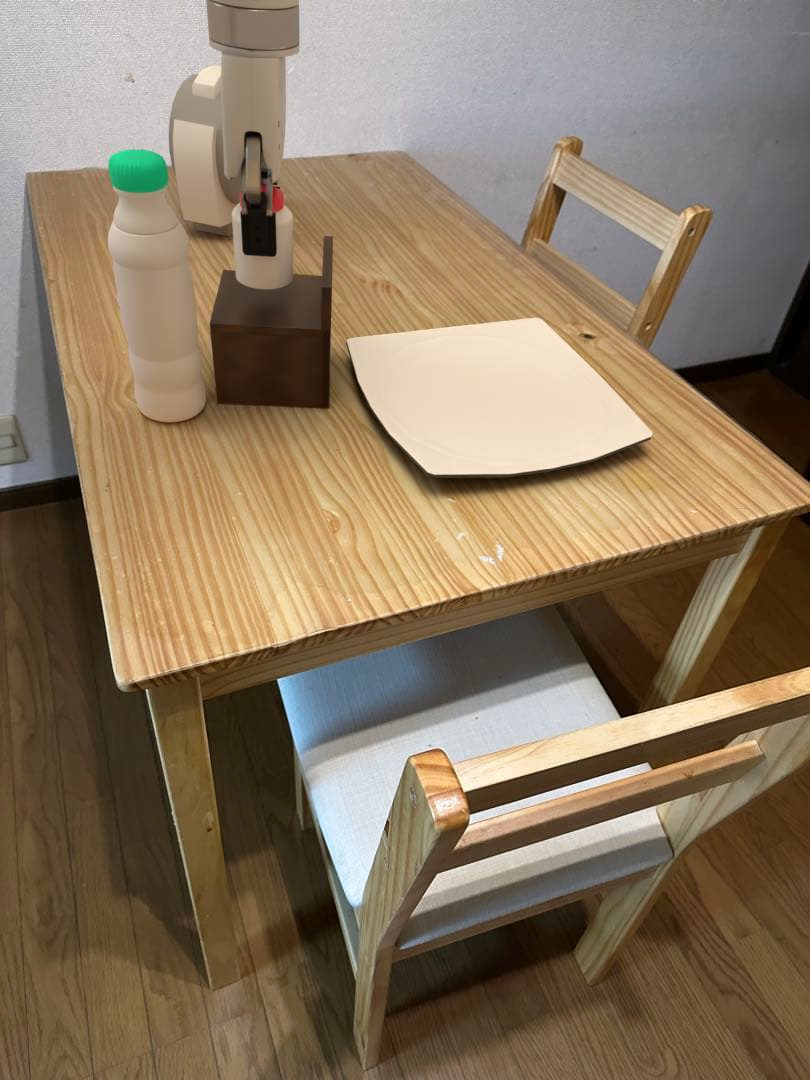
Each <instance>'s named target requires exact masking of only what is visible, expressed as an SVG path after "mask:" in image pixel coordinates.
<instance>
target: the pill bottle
mask: <svg viewBox="0 0 810 1080" xmlns="http://www.w3.org/2000/svg"><path fill="white" fill-rule="evenodd" d="M276 187H277V186H275V187H273V213H276V243H277V252H276V256H274V257H267V256H251V255H245V254H244V253H243V249H242V232H241V215H240V212H241V211H242V199H241V189H240V191H239V197H240V203H239V204H238V205H236V206H235V207H234V209H233V210H232V214H231V216H232V231H233V233H232V245H233V260H234V271H235V276H236V279H237V280H238V281H239V282H240V283H241V284H243V285H245V286H248V287H251V288H255V289H277V288H281V287H284V286H286V285H288V284H289V283H291V282H292V280H293V274H294V218H293V217H294V215H293V212H292V211H291V210H290V209H289V207H288V206H286V204H284V192H283V190H282V189H281V188H280V189H278V188H276ZM261 192H265V196H266V186H261Z"/></svg>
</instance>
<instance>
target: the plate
mask: <svg viewBox="0 0 810 1080" xmlns="http://www.w3.org/2000/svg"><path fill="white" fill-rule="evenodd" d="M345 344H346V347H347V351H348V355H349V358H350V362H351V365H352V368H353V372H354V375H355V379H356V382H357V385H358V387H359V389H360V391H361V394H362V396H363V397H364V399H365V401H366V403H367V406H368V407H369V409H370V411H371V412H372V414H373V415H374V417H375V418H376V420H377V421H378V423H379V424H380V426H381V427H382V429H383V430H384V432H385V433H386V434H387V436H388V437H389V438H390V439H391V440H392V442H394V443H395V444H396V446H397V447H398V448H400V450H401V451H402V452H403V453H404V454H405V455H406V456H407V457H408V458H409V459H410V460H411V461H412V462H413V463H414V464H415V466H417V467H418V468H419V470H421V471H422V473H424V475H425V476H428V477H430V478H434V479H460V478H461V479H462V478H466V479H467V478H468V479H469V478H470V479H472V478H477V479H478V478H481V479H482V478H512V477H519V476H520V477H521V476H527V475H533V474H540V473H541V474H543V473H548V472H553V471H557V470H563V469H566V468H567V469H568V468H571V467H576V466H580V465H585V464H589V463H593V462H596V461H598V460H601V459H604V458H605V457H608V456H611V455H613V454H616V453H620V452H622V451H625V450H628V449H630V448H632V447H635V446H637V445H641V444H642V443H645V442H648V441H650V440H651V439H652V437H653V434H654V433H653V431H652V430H651V429H650V427H648V426H647V425H646V424H645V422H644V421H643V420H642V419H641V418H640V417H639V415H638V414H637V413H636V412H634V411H633V409H632V408H631V407H630V406H629V404H627V402H626V401H624V399H623V398H622V397H621V396H620V395H619V394H618V393H617V392H616V391H615V390H614V389H613V388H612V386H610V384H609V383H608V382H607V381H606V380H605V379H604V378H603V377H602V376H601V375H600V374H599V373H598V372H597V371H596V370H595V369H594V368H593V367H592V366H591V365H590V364H589V363H588V362H587V361H586V360H585V359H584V358H583V357H582V356H580V354H579V353H578V352H577V351H576V350H575V349H573V348H572V347H571V346H570V344H568V343H567V341H566V340H564V339H563V338H562V337H561V336H560V335H559V334H558V333H557V332H556V331H555V330H553V329H552V327H551V326H549V324H548V323H546V322H545V321H544V320H543V319H542V318H539V317H528V318H519V319H511V320H503V321H502V320H501V321H493V322H492V321H491V322H483V323H475V324H465V325H455V326H446V327H445V326H444V327H437V328H429V329H420V330H419V329H418V330H411V331H402V332H401V331H400V332H392V333H383V334H374V335H365V336H356V337H355V336H354V337H349V338H348V339H347V340H346V342H345Z"/></svg>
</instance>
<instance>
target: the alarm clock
mask: <svg viewBox="0 0 810 1080" xmlns="http://www.w3.org/2000/svg"><path fill="white" fill-rule="evenodd" d="M168 148H169V149H168V150H169V155H170V162H171V163H170V164H171V167H172V170H173V173H174V176H175V180H176V185H177V191H178V198H179V203H180V207H181V212H182V213H181V214H182V217H183V220H184V221H189V222H193V223H194V222H195V223H194V224H195V225H194V226H195V230H197V231H201V232H204V233H205V232H206V233H210V234H215V235H220V236H225V237H230V236H231V235H233V231H232V216H231V214H232V210H233V209H234V207H235V206H236V205H238V204H239V203H240V197H239V191H240V189H241V168H240V171H239V174H238V176H237V178H233V179H232V180H228V179H227V178H226V176H225V175H224V149H223V125H222V99H221V66H218V65H214V64H213V65H211V66H208V67H205V68H204V69H202V70H200V71H199V72H198V73H193V74H191V75H190V76H188V77H187V78H185V80H183V81H182V82H181V84H180V86H179V87H178V89H177V91H176V93H175V96H174V98H173V102H172V105H171V110H170V115H169V123H168Z"/></svg>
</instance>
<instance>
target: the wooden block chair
mask: <svg viewBox="0 0 810 1080" xmlns="http://www.w3.org/2000/svg"><path fill="white" fill-rule="evenodd" d="M322 246H323V247H322V248H323V249H322V272H321V275H317V274H316V275H315V274H299V273H293V280H292V282H291V283H289V284H288V285H286V286H284V287H281V288H277V289H255V288H251V287H248V286H245V285H243V284H241V283H240V282H239V281H238V280H237V279H236V276H235V270H233V269H230V270H229V269H222V272H221V277H220V279H219V285H218V288H217V292H216V296H215V301H214V304H213V308H212V313H211V315H210V319H209V332H210V333H209V334H210V343H211V351H212V352H211V353H212V354H211V355H212V364H213V374H214V375H213V377H214V384H215V395H216V403H217V405H237V406H238V405H241V406H263V407H264V406H265V407H287V408H289V407H290V408H312V409H314V408H316V409H329V408H330V390H331V389H330V388H331V387H330V386H331V348H332V345H331V344H332V308H333V303H332V302H333V300H332V299H333V267H334V265H333V263H334V262H333V261H334V259H333V258H334V236H333V235H323V245H322Z"/></svg>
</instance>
